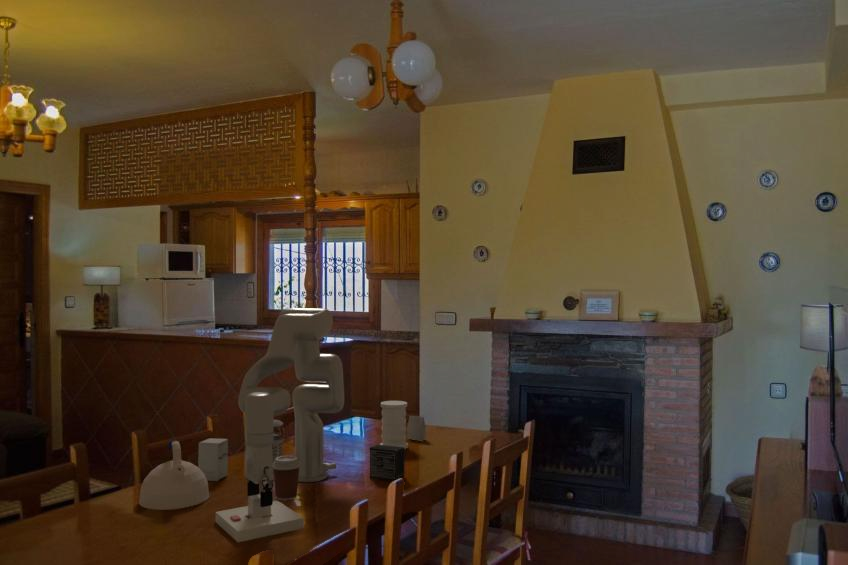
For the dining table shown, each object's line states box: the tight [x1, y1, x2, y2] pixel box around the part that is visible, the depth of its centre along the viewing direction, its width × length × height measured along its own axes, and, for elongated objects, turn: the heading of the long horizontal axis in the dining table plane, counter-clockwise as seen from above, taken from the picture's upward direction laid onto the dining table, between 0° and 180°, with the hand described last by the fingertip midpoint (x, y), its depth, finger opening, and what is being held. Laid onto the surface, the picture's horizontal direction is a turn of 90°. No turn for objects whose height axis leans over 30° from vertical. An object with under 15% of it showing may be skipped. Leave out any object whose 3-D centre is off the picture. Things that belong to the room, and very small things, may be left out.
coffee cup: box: [273, 455, 301, 502], centre depth 210 cm, size 9×9×12 cm
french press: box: [272, 419, 285, 463], centre depth 255 cm, size 10×12×25 cm
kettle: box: [138, 439, 210, 511], centre depth 208 cm, size 20×21×18 cm
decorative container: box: [379, 400, 409, 450], centre depth 276 cm, size 12×12×18 cm
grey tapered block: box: [406, 415, 427, 442], centre depth 289 cm, size 4×7×10 cm, turn 62°
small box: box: [369, 444, 405, 482], centre depth 232 cm, size 11×6×10 cm, turn 65°
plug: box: [247, 493, 271, 519], centre depth 185 cm, size 5×5×8 cm
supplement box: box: [197, 437, 229, 482], centre depth 231 cm, size 7×7×13 cm
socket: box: [215, 500, 305, 543], centre depth 185 cm, size 18×18×3 cm
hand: (259, 500), depth 186 cm, fingers open, 9 cm apart
